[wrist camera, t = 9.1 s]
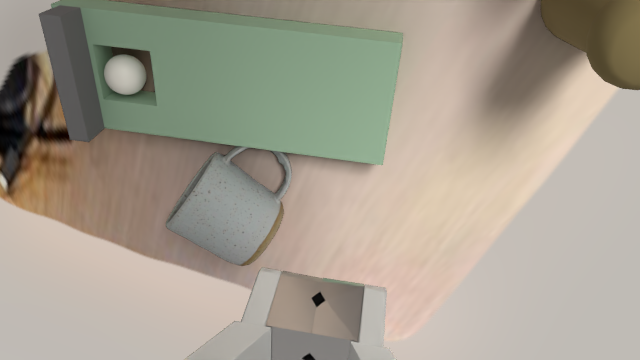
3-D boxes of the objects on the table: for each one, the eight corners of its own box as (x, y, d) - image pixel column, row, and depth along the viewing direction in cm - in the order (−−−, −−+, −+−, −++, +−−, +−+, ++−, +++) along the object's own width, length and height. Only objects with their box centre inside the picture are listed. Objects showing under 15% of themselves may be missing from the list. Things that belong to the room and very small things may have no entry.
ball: (117, 45, 40) (92, 58, 37) (152, 53, 39) (129, 66, 37) (122, 81, 42) (98, 96, 39) (155, 89, 41) (133, 104, 39)
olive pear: (549, 54, 35) (598, 121, 26) (532, -28, 32) (580, 14, 23) (643, 23, 33) (733, 83, 24) (633, -68, 30) (729, -38, 21)
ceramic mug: (254, 235, 49) (232, 290, 42) (184, 189, 47) (151, 240, 41) (316, 166, 44) (303, 218, 37) (241, 112, 42) (212, 156, 35)
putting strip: (70, -4, 38) (29, 12, 34) (402, 33, 36) (402, 55, 32) (94, 112, 44) (62, 138, 39) (383, 150, 41) (381, 182, 37)
